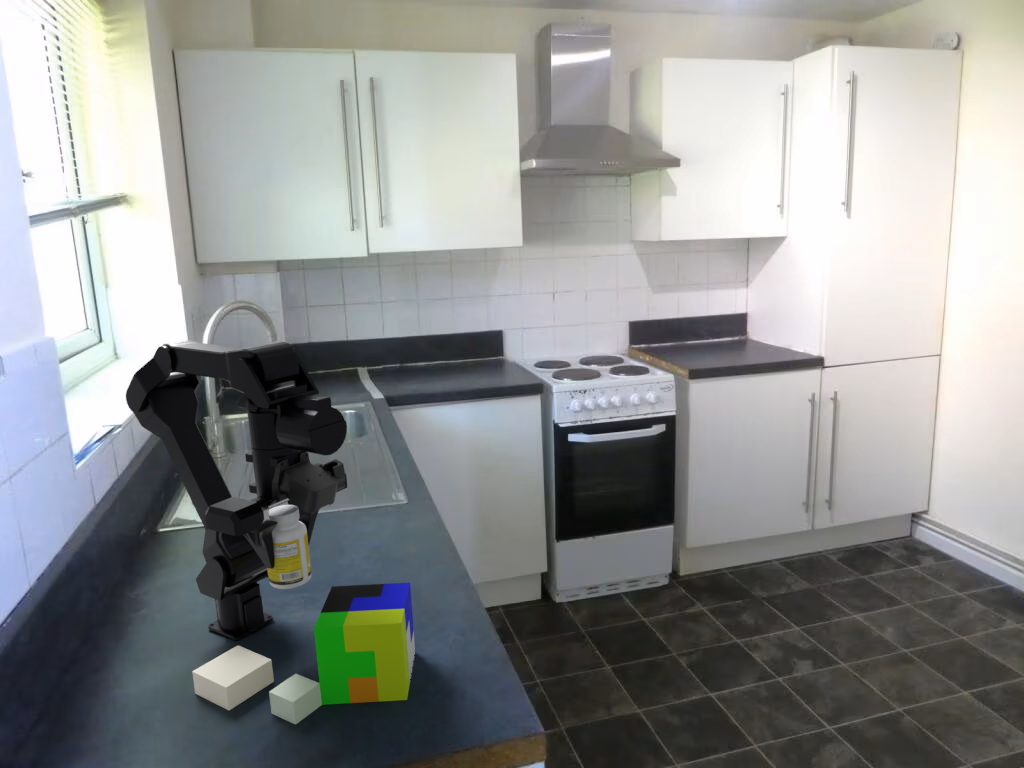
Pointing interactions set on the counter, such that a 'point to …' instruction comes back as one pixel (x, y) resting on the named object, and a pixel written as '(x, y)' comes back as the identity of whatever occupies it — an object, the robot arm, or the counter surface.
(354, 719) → the counter surface
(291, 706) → the brick
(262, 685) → the base brick
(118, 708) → the counter surface
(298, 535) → the supplement bottle
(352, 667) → the puzzle toy
